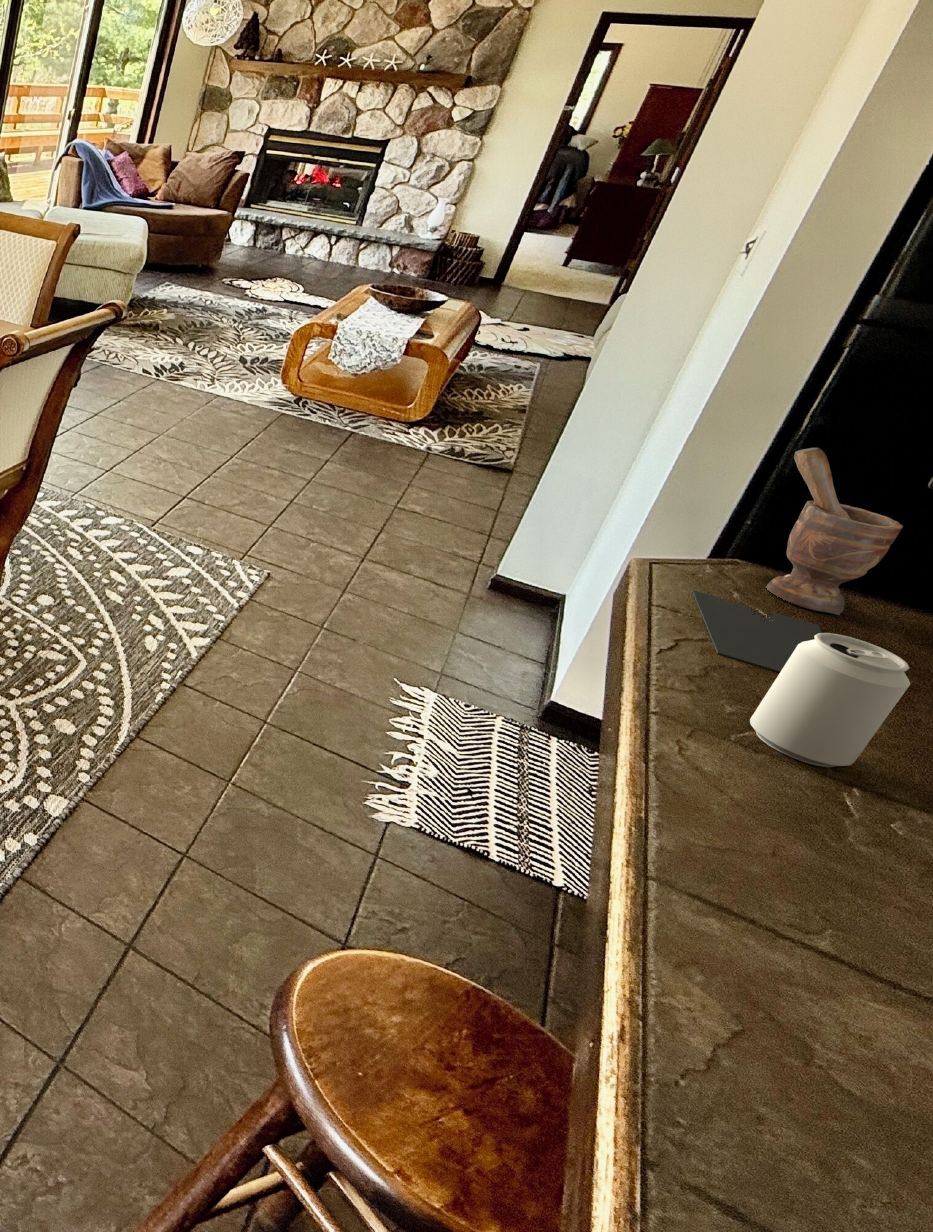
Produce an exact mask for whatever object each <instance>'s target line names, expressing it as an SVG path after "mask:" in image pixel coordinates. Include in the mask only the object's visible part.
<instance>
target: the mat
mask: <svg viewBox="0 0 933 1232" xmlns="http://www.w3.org/2000/svg"><path fill="white" fill-rule="evenodd" d="M691 592H693V593H692V595H693V598H694V597H695V598H694V600H695V603H696V605H697V608H698V610H699V609H700V610H699V612H700V615H701V617H702V619H703V622H704V623H705V627H706V629H707V632H708V634H709V637H710V639H711V642H712V644H713V647H714V649H715V652H716V654H717V655H719V656H723V657H727V658H729V659H733V660H736V661H740V662H743V663H746V664H748V665H749V664H750V665H753V666H756V667H759V668H762V669H766V670H770V671H772V672H776V673H779V674H780V672H781V670H782V669H783V667H784V666H785V664H786V663H787V661H788V660H789V658H790V656H791V655H792V653H793V652H794V650H795V649H796V647H797V646H798V644H800V643H801V642H804V641H809V640H814V639H815V637H814V636H815V635H817V634H818V633H823V631H822V629H821V628H820V626H819V625H818V624H816V623H812V622H810V621H806V620H802V619H799V618H796V617H795V618H794V617H792V616H788V615H784V614H781V615H778V614H779V613H777V614H776V615H774V614H775V613H776V612H774V614H773V615H771V614H772V613H773V611H770V613H771V614H770V615H767V618H764V617H766V615H764V617H763V618H761V617H762V616H763V615H757V614H758V613H759V612H753V611H754V610H751V609H752V607H753V606H752V607H746V606H747V605H748V604H744V603H741V602H737V601H734V602H726V601H727V600H728V601H731V600H730V599H726V598H723V599H721V598H722V597H719V596H716V595H712V594H708V593H705V592H701V591H698V590H694V589H692V590H691ZM709 595H710V596H709ZM717 601H719V602H717ZM723 601H724V602H723ZM736 602H737V603H738V604H736ZM728 603H729V604H728ZM731 603H734V604H731ZM744 605H745V607H742V606H744ZM736 606H737V607H736ZM747 609H750V610H747ZM756 611H758V610H756ZM754 613H756V614H755V615H752V614H754ZM765 613H766V612H765ZM768 613H769V612H768ZM769 617H770V618H769ZM769 619H770V621H768V620H769ZM752 620H753V621H752ZM760 620H761V621H760ZM764 620H765V621H764ZM772 620H773V621H772Z"/></svg>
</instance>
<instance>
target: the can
mask: <svg viewBox="0 0 933 1232" xmlns="http://www.w3.org/2000/svg"><path fill="white" fill-rule="evenodd" d="M814 637H815V639H814V640H809V641H804V642H801V643H800V644H798V646H797V647H796V649H795V650H794V652H793V653H792V655H791V656H790V658H789V660H788V661H787V663H786V664H785V666H784V667H783V669H782V670H781V672H780V673H779V674H778V675H777V677H776V678H775V680H774V682H773V683H772V684H771V686H770V688H769V689H768V690H767V692H766V694H765V695H764V697H763V698H762V700H761V701H760V703H759V704H758V706H757V708H756V709H755V711H754V712H753V714H752V715H751V717H750V718H749V724H750V726H751V727H752V728H753V729H754V731H755V733H756V736H757V737H758V738H759V739H760V740H761V741H762V742H764V743H765V744H766V745H767V746H769V747H770V748H773V750H775V751H777V752H779V753H781V754H784V755H786V756H788V757H790V758H792V759H795V760H797V761H800V762H803V763H805V764H810V765H813V766H816V767H823V768H836V767H844V766H845V767H846V766H847V767H848V766H851V765H853V764H854V763H855V762H856V761H857V759H858V758H859V757H860V755H861V754H862V752H863V751H864V750H865V749H866V747H867V746H868V745H869V743H870V741H871V740H872V738H873V737H874V736H875V734H876V733H877V732H878V730H879V729H880V728H881V726H882V725H883V723H884V722H885V720H886V719H887V718H888V716H889V715H890V714H891V712H892V710H893V709H894V708H895V706H896V705H897V704H898V702H899V701H900V700H901V698H902V697H903V696H904V694H905V693H906V691H907V690H908V688H909V687H910V686H911V682H910V679H909V677H908V676H907V675H906V672H908V670H909V669H910V666H909V663H908V662H907V661H905V660H904V659H902V658H901V657H900V656H899V655H896V654H894V653H893V652H891V651H889V650H887V649H884V648H882V647H880V646H877V645H876V644H873V643H870V642H868V641H865V640H862V639H858V638H855V637H851V636H848V635H844V634H838V633H831V632H822V633H818V634H817V635H815V636H814Z"/></svg>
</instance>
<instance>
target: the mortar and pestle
mask: <svg viewBox="0 0 933 1232" xmlns="http://www.w3.org/2000/svg"><path fill="white" fill-rule="evenodd" d="M793 459H794V462H795V464H796V467H797V470H798V471H799V473H800V475H801V476H802V478H803V481H804V482H805V484H806V485H807V487H808V490H809V492H810V495H811V496H812V498H813V500H807V501H806V503H805V504H804V507H802V508H803V509H802V511H801V512H800V513H799V516H798V519H797V520H796V522H795V523H794V525H793V527H792V529H791V531H790V533H789V535H788V539H787V548H786V557H787V559H788V560H789V562H790V563H791V564H792V567H793V568H792V570H791V573H787V574H785V575H782V576H781V575H779V576H775V577H774V578H773V579H771V580H770V581H769V582H768V583H767V585H766V586H765V588H767V590H769V591H770V592H771V593H773V594H774V595H776V596H777V597H776V596H775V597H776V598H778V597H780V598H782V599H783V601H785V600H786V601H785V602H787V601H788V603H790V602H791V603H790V604H793V605H796V606H798V607H801V608H804V609H808V610H812V611H817V612H822V613H827V614H831V615H836V616H840V615H841V613H843V612H844V610H845V605H846V601H845V597H844V595H842V593H841V590H840V585H841V584H843V583H846V582H849V581H852V580H856V579H858V578H861V577H864V576H865V575H866V574H867V573H868V571H869V570H870V569H872V568H874V567H875V566H876V565H878V564H879V563H880V562H881V560H882V559H883V558H884V556H886V555H887V553H888V552H889V550H890V547H891V545H892V544H893V543H894V542H895V540H896V539H897V537H898V535H899V534H900V533H901V531H902V529H903V527H904V526H903V524H900V522H899V521H898V520H894V519H892V518H891V517H889V516H885V515H882V514H879V513H876V512H874V511H873V512H872V511H869V510H866V509H863V508H860V507H855V506H851V505H847V504H841V503H840V502H839V500H838V496H837V493H836V489H835V486H834V481H833V476H832V471H831V467H830V463H829V459H828V457H827V455H826V453H825V452H824V450H822V449H821V448H820V447H809V448H803V449H799V450H797V451H795V452H794V456H793ZM771 593H770V594H771ZM774 595H773V596H774ZM780 598H779V599H780ZM782 599H781V600H782Z"/></svg>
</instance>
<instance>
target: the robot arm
mask: <svg viewBox="0 0 933 1232" xmlns="http://www.w3.org/2000/svg"><path fill="white" fill-rule="evenodd" d="M927 487H928V488H929V489H930V490H931V491H933V476H932V477H931V478H930V480H929V482H928V483H927Z"/></svg>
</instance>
